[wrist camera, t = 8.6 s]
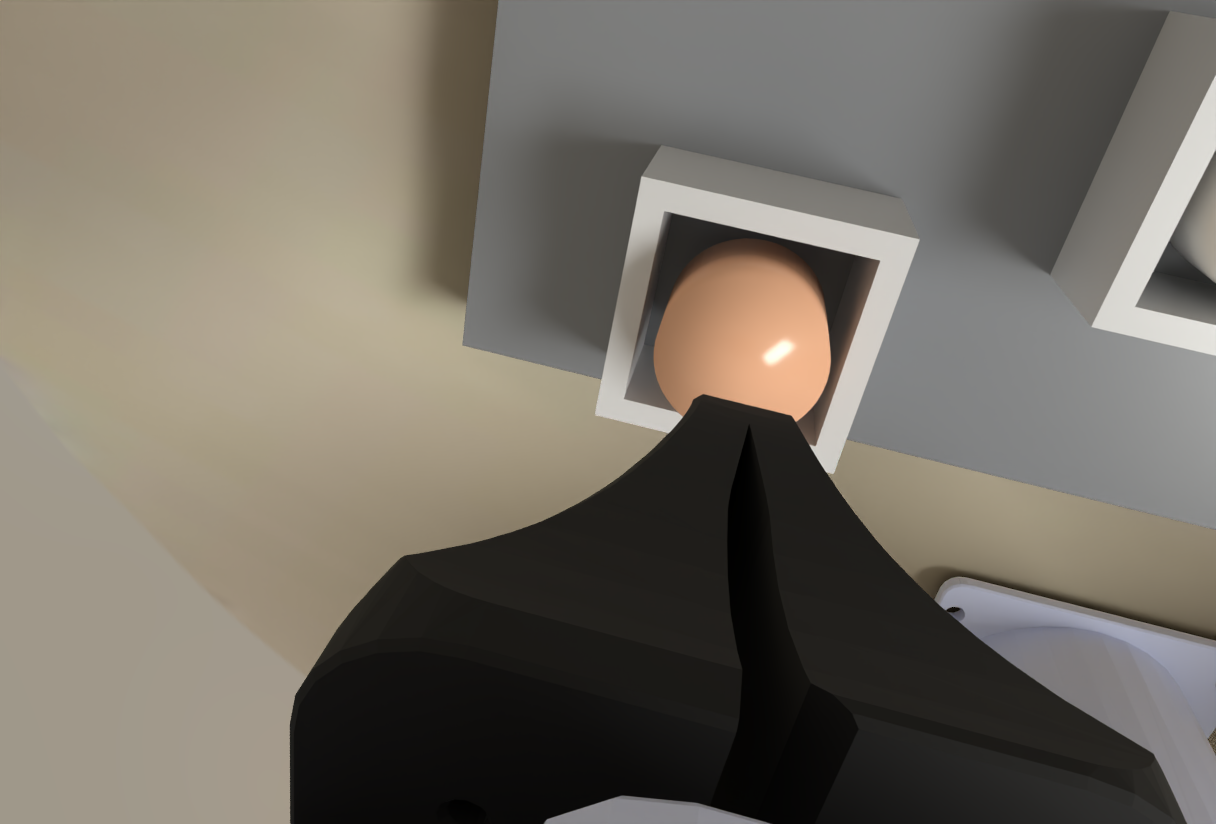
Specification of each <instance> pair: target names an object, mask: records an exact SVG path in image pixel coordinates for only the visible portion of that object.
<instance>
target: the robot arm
mask: <svg viewBox="0 0 1216 824" xmlns="http://www.w3.org/2000/svg"><path fill="white" fill-rule="evenodd" d="M951 607H959V608H961V609H960V610H959V611H957V612H954V613H951V612H947V611H946V610H947V609H948V608H951ZM1215 728H1216V641H1215V640H1211V639H1207V638H1203V637H1199V636H1195V635H1191V634H1187V633H1183V632H1180V631H1176V630H1172V629H1168V628H1164V627H1160V626H1156V625H1152V624H1148V623H1144V622H1140V621H1136V620H1132V619H1128V618H1124V617H1120V616H1117V615H1113V614H1109V613H1105V612H1101V611H1097V610H1093V609H1089V608H1085V607H1081V606H1077V605H1073V604H1069V603H1065V602H1061V601H1057V600H1054V599H1050V598H1046V597H1042V596H1038V595H1034V594H1030V593H1026V592H1022V591H1018V590H1014V589H1010V588H1006V587H1002V586H998V585H994V584H991V583H987V582H983V581H979V580H975V579H971V578H967V577H954V578H950V579H949V580H947V581H945V582H944V583H943V584H942V586H941V587H940V589H939V591H938V593H937V595H936V597H935V599H934V600H933V599H932V598H931V597H930V596H929V595H928V594H927V593H926V592H925V591H924V590H923V589H922V588H921V587H920V586H919V585H918V584H917V583H916V582H915V581H914V580H913V579H912V578H911V577H910V576H909V575H908V574H907V573H906V572H905V571H904V570H903V569H902V568H901V567H900V566H899V565H898V564H897V563H896V562H895V561H894V560H893V559H892V558H891V556H890V555H889V554H888V553H887V552H886V551H885V550H884V549H883V547H882V546H881V545H880V544H879V543H878V542H877V541H876V539H875V538H874V537H873V536H872V534H871V533H870V532H869V531H868V529H867V528H866V527H865V526H864V524H863V523H862V522H861V520H860V519H859V518H858V517H857V515H856V514H855V513H854V512H853V510H852V509H851V508H850V506H849V505H848V503H847V502H846V501H845V499H844V498H843V497H842V495H841V494H840V492H839V491H838V489H837V488H836V486H835V485H834V483H833V482H832V480H831V479H830V477H829V476H828V474H827V473H826V471H825V470H824V468H823V467H822V465H821V463H820V462H819V460H818V459H817V457H816V455H815V454H814V452H813V450H812V449H811V447H810V445H809V444H808V442H807V440H806V439H805V437H804V435H803V434H802V432H801V430H800V428H799V427H798V425H797V423H796V422H795V420H794V418H793V417H792V416H791V415H787V414H783V413H779V412H775V411H771V410H767V409H763V408H759V407H755V406H750V405H746V404H742V403H738V402H734V401H730V400H726V399H722V398H718V397H714V396H710V395H705V394H702V395H700V396H698V397H697V398H695V399H693V401H692V404H691V406H690V407H689V409H688V411H687V412H686V414H685V415H684V416H683V418H682V419H681V420H680V421H679V422H678V424H677V425H676V426H675V427H674V428H673V429H672V431H671V432H670V433H669V434H668V435H667V436H666V437H665V438H664V439H663V440H662V441H661V442H660V443H659V444H658V445H657V446H656V447H655V448H654V449H653V450H651V451H650V452H649V453H648V454H647V455H646V456H645V457H643V458H642V459H641V460H640V461H639V462H637V463H636V464H635V465H634V466H632V467H631V468H630V469H629V470H628V471H626V472H625V473H624V474H623V475H621V476H620V477H619V478H617V479H616V480H614V481H613V482H612V483H610V484H609V485H607V486H606V487H604V488H603V489H601V490H600V491H598V492H597V493H595V494H593V495H592V496H590V497H588V498H587V499H585V500H583V501H582V502H580V503H578V504H576V505H574V506H572V507H570V508H569V509H567V510H565V511H563V512H561V513H559V514H557V515H555V516H552V517H550V518H548V519H546V520H544V521H542V522H539V523H536V524H534V525H531V526H528V527H525V528H522V529H520V530H517V531H514V532H511V533H507V534H504V535H501V536H497V537H494V538H491V539H487V540H483V541H479V542H475V543H471V544H467V545H461V546H456V547H451V548H446V549H441V550H435V551H430V552H425V553H420V554H413V555H405V556H403V557H402V558H400V559H399V560H398V561H397V562H396V563H395V564H394V565H393V566H392V567H391V568H390V569H389V571H388V572H387V573H386V574H385V575H384V576H383V577H382V578H381V579H380V580H379V581H378V582H377V583H376V584H375V585H374V586H373V587H372V589H371V590H370V591H369V592H368V593H367V594H366V596H365V597H364V598H363V599H362V600H361V601H360V602H359V603H358V604H357V605H356V606H355V607H354V609H353V610H352V611H351V612H350V613H349V615H348V616H347V617H346V619H345V620H344V621H343V623H342V624H341V625H340V626H339V628H338V629H337V631H336V632H335V634H334V635H333V637H332V638H331V640H330V641H329V643H328V645H327V646H326V648H325V649H324V651H323V653H322V654H321V656H320V657H319V659H318V660H317V662H316V664H315V665H314V667H313V668H312V670H311V671H310V673H309V675H308V676H307V678H306V679H305V681H304V682H303V684H302V686H301V687H300V689H299V690H298V692H297V693H296V695H295V700H294V705H293V711H292V716H291V721H290V823H291V824H1216V755H1215V753H1214V751H1213V749H1212V747H1211V745H1210V743H1209V741H1208V738H1209V736H1210V735H1211V734H1212V732H1213V731H1214V730H1215Z"/></svg>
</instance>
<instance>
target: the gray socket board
mask: <svg viewBox="0 0 1216 824" xmlns="http://www.w3.org/2000/svg"><path fill="white" fill-rule="evenodd" d="M1215 150H1216V0H498V10H497V19H496V29H495V39H494V48H493V58H492V67H491V77H490V86H489V96H488V105H487V115H486V125H485V134H484V144H483V153H482V163H481V172H480V182H479V192H478V201H477V211H476V220H475V230H474V239H473V249H472V258H471V268H470V278H469V287H468V297H467V306H466V316H465V325H464V335H463V344H462V345H463V346H467V347H471V348H476V349H480V350H484V351H488V352H492V353H496V354H500V355H504V356H508V357H512V358H516V359H520V360H525V361H529V362H533V363H537V364H541V365H545V366H549V367H553V368H557V369H561V370H565V371H569V372H574V373H578V374H582V375H586V376H590V377H594V378H598V379H602V380H601V385H600V391H599V396H598V401H597V406H596V411H595V415H597V416H601V417H605V418H609V419H614V420H618V421H622V422H626V423H630V424H634V425H638V426H642V427H646V428H650V429H654V430H658V431H662V432H666V433H670V432H671V431H672V429H673V428H674V427H675V426H676V425H677V424H678V422H679V421H680V420H681V419H682V418H683V416H681V415H680V414H679V413H678V412H677V411H676V410H675V409H674V408H673V406H672V405H671V404H670V403H669V401H668V400H667V399H666V397H665V395H664V394H663V392H662V390H661V388H660V385H659V383H658V381H657V377H656V373H655V368H654V346H655V340H656V337H657V333H658V330H659V327H660V324H661V321H662V318H663V315H664V312H665V309H666V307H667V304H668V301H669V298H670V295H671V292H672V289H673V286H674V284H675V282H676V280H677V278H678V276H679V275H680V273H681V272H682V270H683V269H684V268H685V267H686V265H687V264H688V263H689V262H690V261H691V260H692V259H693V258H694V257H696V256H697V255H698V254H700V253H701V252H703V251H704V250H706V249H708V248H710V247H712V246H714V245H716V244H719V243H722V242H725V241H729V240H734V239H743V238H750V239H761V240H767V241H770V242H773V243H777V244H779V245H781V246H783V247H786V248H787V249H789V250H791V251H792V252H794V253H796V254H797V255H798V256H799V257H800V258H802V259H803V260H804V261H805V262H806V263H807V264H808V265H809V266H810V268H811V269H812V270H813V272H814V273H815V275H816V276H817V278H818V280H819V282H820V284H821V287H822V290H823V293H824V297H825V303H826V312H827V322H828V332H829V342H830V354H831V364H830V372H829V376H828V380H827V383H826V385H825V388H824V390H823V392H822V394H821V396H820V397H819V399H818V401H817V402H816V403H815V405H814V406H813V407H812V408H811V409H810V410H809V411H808V412H807V413H806V414H805V415H804V416H803V417H802V418H800V419H799V420H798V421H796V423H797V425H798V427H799V428H800V430H801V432H802V434H803V435H804V437H805V439H806V440H807V442H808V444H809V445H810V447H811V449H812V450H813V452H814V454H815V455H816V457H817V459H818V460H819V462H820V463H821V465H822V467H823V468H824V470H825V471H826V472H827V473H831V474H834V472H835V469H836V466H837V464H838V461H839V458H840V455H841V453H842V450H843V447H844V444H845V442H846V439H847V440H851V441H855V442H859V443H863V444H867V445H871V446H875V447H880V448H884V449H888V450H892V451H896V452H900V453H904V454H908V455H912V456H916V457H920V458H924V459H929V460H933V461H937V462H941V463H945V464H949V465H953V466H957V467H961V468H965V469H969V470H973V471H978V472H982V473H986V474H990V475H994V476H998V477H1002V478H1006V479H1010V480H1014V481H1018V482H1022V483H1026V484H1031V485H1035V486H1039V487H1043V488H1047V489H1051V490H1055V491H1059V492H1063V493H1067V494H1071V495H1075V496H1080V497H1084V498H1088V499H1092V500H1096V501H1100V502H1104V503H1108V504H1112V505H1116V506H1120V507H1124V508H1129V509H1133V510H1137V511H1141V512H1145V513H1149V514H1153V515H1157V516H1161V517H1165V518H1169V519H1173V520H1177V521H1182V522H1186V523H1190V524H1194V525H1198V526H1202V527H1206V528H1210V529H1214V530H1216V283H1215V282H1213V281H1212V280H1211V279H1210V278H1208V277H1207V276H1206V275H1205V274H1203V273H1202V272H1201V271H1200V270H1198V269H1197V268H1196V267H1194V266H1193V265H1192V264H1191V263H1189V262H1188V261H1187V260H1186V259H1185V258H1184V257H1182V256H1181V255H1180V254H1179V253H1178V252H1177V250H1176V249H1175V248H1174V247H1173V245H1172V243H1171V242H1170V238H1171V236H1172V234H1173V232H1174V230H1175V228H1176V226H1177V224H1178V222H1179V220H1180V218H1181V216H1182V215H1183V213H1184V211H1185V209H1186V207H1187V205H1188V203H1189V201H1190V199H1191V197H1192V195H1193V193H1194V191H1195V189H1196V187H1197V185H1198V183H1199V182H1200V180H1201V178H1202V176H1203V174H1204V172H1205V170H1206V168H1207V166H1208V164H1209V162H1210V160H1211V158H1212V156H1213V154H1214V152H1215Z"/></svg>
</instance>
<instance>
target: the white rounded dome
mask: <svg viewBox="0 0 1216 824" xmlns="http://www.w3.org/2000/svg"><path fill="white" fill-rule="evenodd" d="M1170 242H1171V243H1172V245H1173V247H1174V248H1175V249H1176V250H1177V252H1178V253H1179V254H1180V255H1181V256H1182V257H1184V258H1185V259H1186V260H1187V261H1188V262H1189V263H1191V264H1192V265H1193V266H1194V267H1196V268H1197V269H1198V270H1200V271H1201V272H1202V273H1203V274H1205V275H1206V276H1207V277H1208V278H1210V279H1211V280H1212V281H1213V282H1215V283H1216V150H1215V152H1214V154H1213V156H1212V158H1211V160H1210V162H1209V164H1208V166H1207V168H1206V170H1205V172H1204V174H1203V176H1202V178H1201V180H1200V182H1199V183H1198V185H1197V187H1196V189H1195V191H1194V193H1193V195H1192V197H1191V199H1190V201H1189V203H1188V205H1187V207H1186V209H1185V211H1184V213H1183V215H1182V216H1181V218H1180V220H1179V222H1178V224H1177V226H1176V228H1175V230H1174V232H1173V234H1172V236H1171V238H1170Z"/></svg>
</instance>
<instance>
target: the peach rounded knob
mask: <svg viewBox="0 0 1216 824" xmlns="http://www.w3.org/2000/svg"><path fill="white" fill-rule="evenodd" d="M830 364H831V354H830V342H829V332H828V322H827V312H826V303H825V297H824V293H823V290H822V287H821V284H820V282H819V280H818V278H817V276H816V275H815V273H814V272H813V270H812V269H811V268H810V266H809V265H808V264H807V263H806V262H805V261H804V260H803V259H802V258H800V257H799V256H798V255H797V254H796V253H794V252H792V251H791V250H789V249H787V248H786V247H783V246H781V245H779V244H777V243H773V242H770V241H767V240H761V239H750V238H743V239H734V240H729V241H725V242H722V243H719V244H716V245H714V246H712V247H710V248H708V249H706V250H704V251H703V252H701V253H700V254H698V255H697V256H696V257H694V258H693V259H692V260H691V261H690V262H689V263H688V264H687V265H686V267H685V268H684V269H683V270H682V272H681V273H680V275H679V276H678V278H677V280H676V282H675V284H674V286H673V289H672V292H671V295H670V298H669V301H668V304H667V307H666V309H665V312H664V315H663V318H662V321H661V324H660V327H659V330H658V333H657V337H656V340H655V346H654V368H655V373H656V377H657V381H658V383H659V385H660V388H661V390H662V392H663V394H664V395H665V397H666V399H667V400H668V401H669V403H670V404H671V405H672V406H673V408H674V409H675V410H676V411H677V412H678V413H679V414H680V415H681V416H684V415H685V414H686V412H687V411H688V409H689V407H690V406H691V404H692V401H693V399H695V398H697V397H698V396H700V395H702V394H705V395H710V396H714V397H718V398H722V399H726V400H730V401H734V402H738V403H742V404H746V405H750V406H755V407H759V408H763V409H767V410H771V411H775V412H779V413H783V414H787V415H791V416H792V417H793V418H794V420H795V422H796V421H798V420H799V419H800V418H802V417H803V416H804V415H805V414H806V413H807V412H808V411H809V410H810V409H811V408H812V407H813V406H814V405H815V403H816V402H817V401H818V399H819V397H820V396H821V394H822V392H823V390H824V388H825V385H826V383H827V380H828V376H829V372H830Z"/></svg>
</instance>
